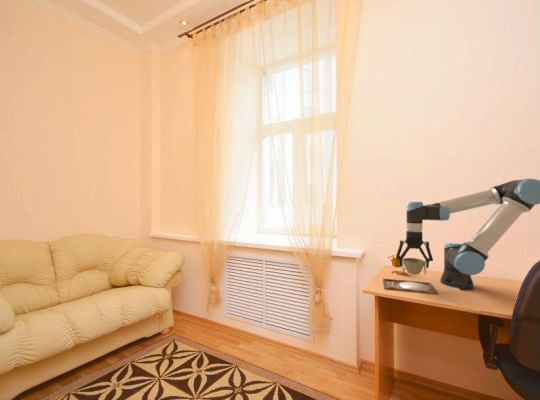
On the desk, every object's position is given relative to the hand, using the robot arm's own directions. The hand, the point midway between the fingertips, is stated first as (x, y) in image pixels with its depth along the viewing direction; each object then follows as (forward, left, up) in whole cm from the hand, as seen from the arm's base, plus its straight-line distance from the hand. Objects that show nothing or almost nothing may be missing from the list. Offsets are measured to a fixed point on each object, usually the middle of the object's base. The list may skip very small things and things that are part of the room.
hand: (413, 272), depth 147 cm
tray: (+3, 0, -9) cm, 9 cm away
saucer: (0, 0, -8) cm, 8 cm away
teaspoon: (+10, -1, -8) cm, 13 cm away
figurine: (+5, -28, -9) cm, 30 cm away
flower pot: (0, 0, -1) cm, 1 cm away
